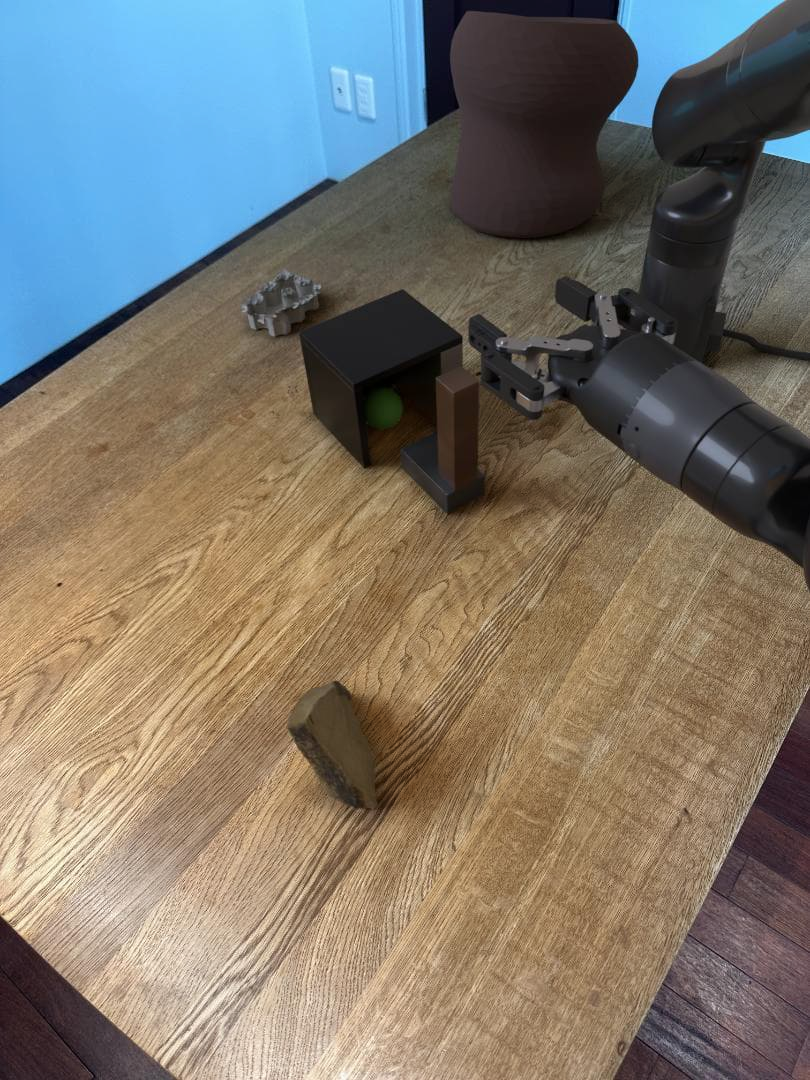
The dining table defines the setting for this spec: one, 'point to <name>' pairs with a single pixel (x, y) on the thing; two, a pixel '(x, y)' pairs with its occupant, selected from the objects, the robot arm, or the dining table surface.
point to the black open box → (376, 363)
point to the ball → (382, 408)
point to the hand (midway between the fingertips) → (516, 306)
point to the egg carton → (281, 303)
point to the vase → (534, 118)
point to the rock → (334, 744)
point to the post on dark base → (450, 445)
